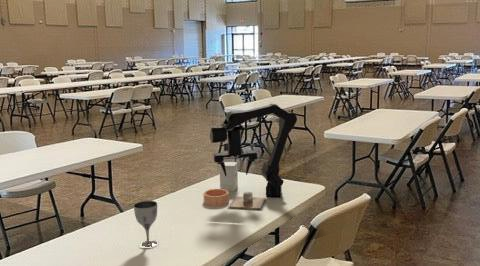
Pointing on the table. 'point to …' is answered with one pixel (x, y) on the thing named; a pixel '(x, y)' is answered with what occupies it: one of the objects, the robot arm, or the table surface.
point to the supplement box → (229, 177)
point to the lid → (248, 202)
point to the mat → (248, 209)
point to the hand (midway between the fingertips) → (236, 175)
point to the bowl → (216, 197)
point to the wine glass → (146, 217)
